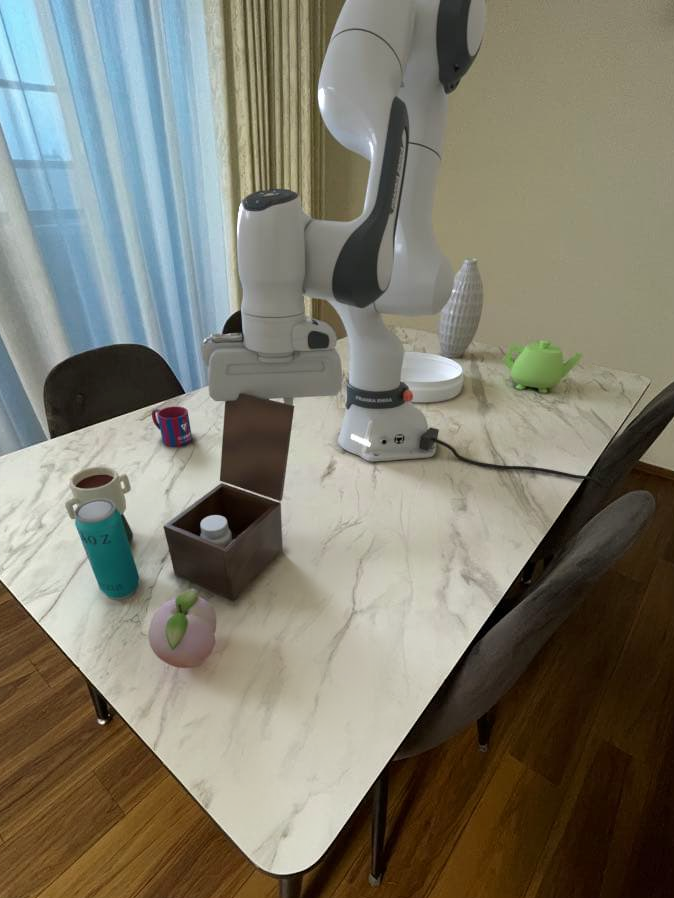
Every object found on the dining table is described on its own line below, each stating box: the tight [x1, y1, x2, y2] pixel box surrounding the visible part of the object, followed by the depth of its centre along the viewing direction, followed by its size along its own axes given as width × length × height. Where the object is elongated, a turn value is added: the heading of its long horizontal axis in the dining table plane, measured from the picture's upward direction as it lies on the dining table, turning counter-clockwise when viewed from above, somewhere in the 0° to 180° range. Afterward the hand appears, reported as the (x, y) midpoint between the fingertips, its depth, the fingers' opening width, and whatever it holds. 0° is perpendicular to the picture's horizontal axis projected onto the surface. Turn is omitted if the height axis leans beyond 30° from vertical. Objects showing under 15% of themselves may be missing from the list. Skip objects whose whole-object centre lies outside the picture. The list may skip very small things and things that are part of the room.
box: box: [162, 482, 283, 603], centre depth 73 cm, size 14×12×10 cm
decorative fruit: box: [147, 588, 218, 669], centre depth 59 cm, size 9×8×10 cm
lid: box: [219, 393, 295, 502], centre depth 72 cm, size 14×12×1 cm
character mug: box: [64, 466, 134, 545], centre depth 76 cm, size 11×7×13 cm, turn 142°
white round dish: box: [401, 351, 464, 404], centre depth 136 cm, size 27×27×6 cm
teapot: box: [502, 339, 583, 394], centre depth 134 cm, size 20×13×13 cm
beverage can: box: [74, 498, 140, 601], centre depth 67 cm, size 6×6×15 cm
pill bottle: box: [200, 515, 232, 547], centre depth 72 cm, size 5×5×8 cm
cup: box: [151, 405, 193, 447], centre depth 108 cm, size 7×10×7 cm
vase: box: [438, 258, 484, 359], centre depth 151 cm, size 13×13×28 cm
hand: (276, 423), depth 75 cm, fingers closed
